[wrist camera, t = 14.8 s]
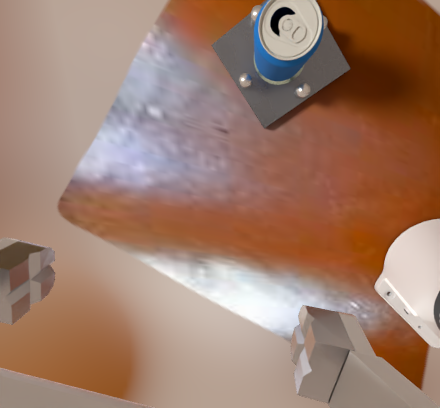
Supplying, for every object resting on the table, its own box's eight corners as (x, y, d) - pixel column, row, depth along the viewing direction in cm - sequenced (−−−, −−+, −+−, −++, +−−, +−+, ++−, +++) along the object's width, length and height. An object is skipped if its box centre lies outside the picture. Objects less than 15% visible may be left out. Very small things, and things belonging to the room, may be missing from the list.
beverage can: (276, 15, 36) (285, -34, 24) (315, 48, 36) (343, 15, 25) (244, 61, 38) (239, 36, 26) (282, 92, 38) (293, 80, 27)
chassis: (347, 70, 37) (356, 65, 34) (264, 128, 41) (264, 128, 37) (296, -22, 35) (300, -37, 32) (212, 47, 39) (208, 40, 35)
